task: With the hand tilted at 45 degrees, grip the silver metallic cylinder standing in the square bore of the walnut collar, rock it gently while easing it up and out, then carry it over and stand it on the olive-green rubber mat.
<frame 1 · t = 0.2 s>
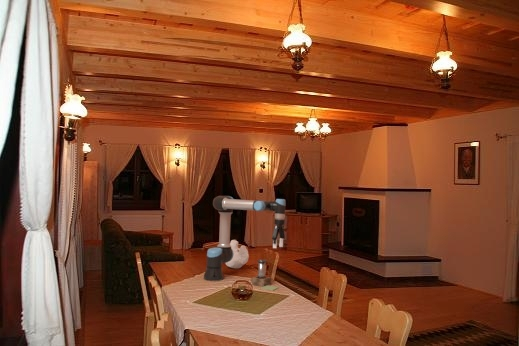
hand: (277, 247, 308), 28 cm above the table, tool pointing down, fingers open, 13 cm apart
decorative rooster: (236, 268, 364), on the table
silver metallic cylinder: (261, 272, 305), in the collar
mat: (269, 288, 293), on the table
collar: (261, 284, 305), on the table
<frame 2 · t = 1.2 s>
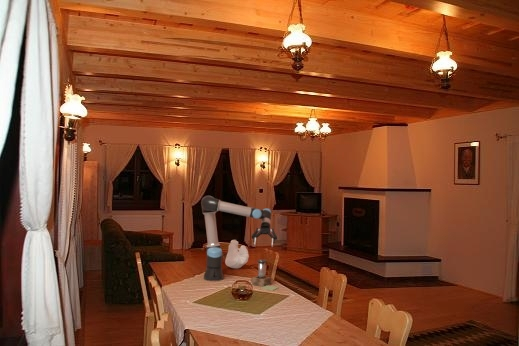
hand: (263, 245, 316), 28 cm above the table, tool tilted 45°, fingers open, 13 cm apart
nothing on the table moved.
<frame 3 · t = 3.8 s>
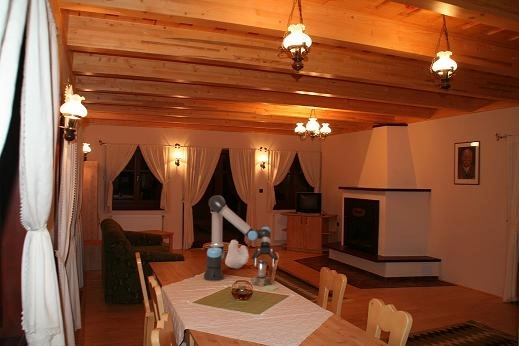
hand: (264, 266, 309), 13 cm above the table, tool tilted 45°, fingers open, 13 cm apart
nothing on the table moved.
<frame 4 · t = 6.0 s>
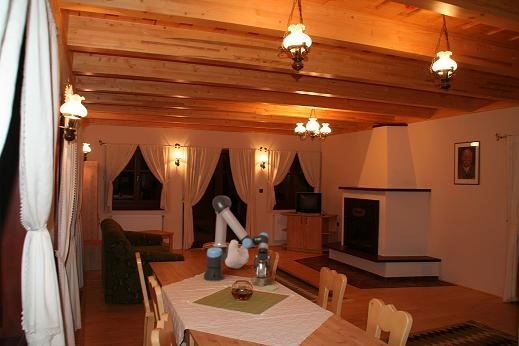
hand: (261, 275, 301), 7 cm above the table, tool tilted 45°, fingers closed on silver metallic cylinder, 5 cm apart
silver metallic cylinder: (261, 272, 305), in the collar, touching gripper
everything else where it was.
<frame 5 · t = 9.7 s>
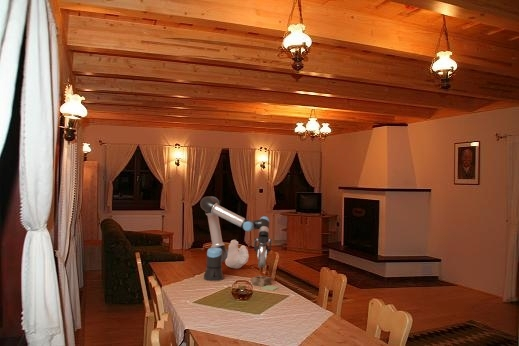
hand: (261, 257, 302), 20 cm above the table, tool tilted 45°, fingers closed on silver metallic cylinder, 5 cm apart
silver metallic cylinder: (262, 254, 306), point 22 cm above the table, touching gripper
everything else where it was.
when the fingers open (9 cm above the table, at t = 13.7 s): silver metallic cylinder drops 1 cm, resting on mat.
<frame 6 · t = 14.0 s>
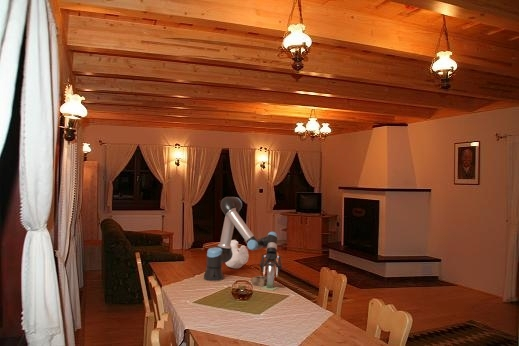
hand: (270, 275, 290), 10 cm above the table, tool tilted 45°, fingers open, 8 cm apart
silver metallic cylinder: (270, 274, 294), on the mat, point 10 cm above the table
everything else where it was.
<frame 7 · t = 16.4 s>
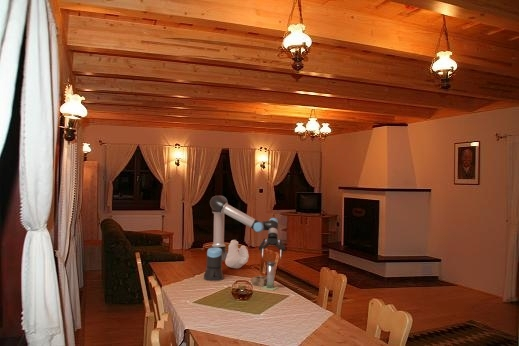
hand: (271, 257, 305), 21 cm above the table, tool tilted 45°, fingers open, 13 cm apart
nothing on the table moved.
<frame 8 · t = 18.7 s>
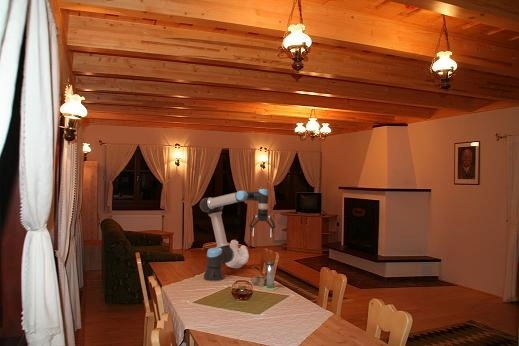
hand: (261, 236, 313), 35 cm above the table, tool pointing down, fingers open, 13 cm apart
nothing on the table moved.
at the end: silver metallic cylinder inside the target area on the mat (0.1 cm from its centre), point 9.6 cm above the mat's base; silver metallic cylinder tilted 1°; the gripper is holding nothing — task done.
